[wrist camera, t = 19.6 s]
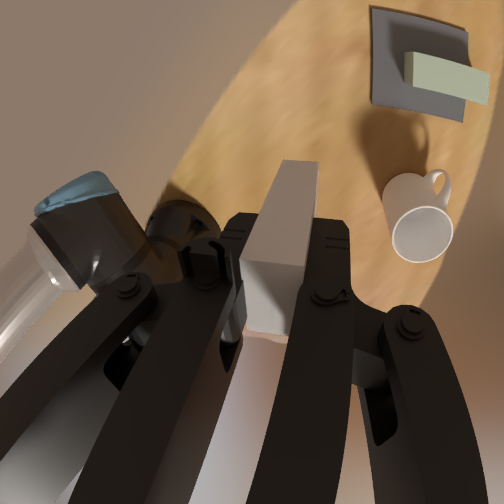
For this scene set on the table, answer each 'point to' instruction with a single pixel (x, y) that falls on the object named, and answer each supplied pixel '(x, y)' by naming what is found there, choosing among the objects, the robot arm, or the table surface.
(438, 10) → the table surface
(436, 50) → the mat
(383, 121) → the table surface
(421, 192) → the mug
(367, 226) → the table surface
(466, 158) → the table surface
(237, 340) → the robot arm
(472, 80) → the block
